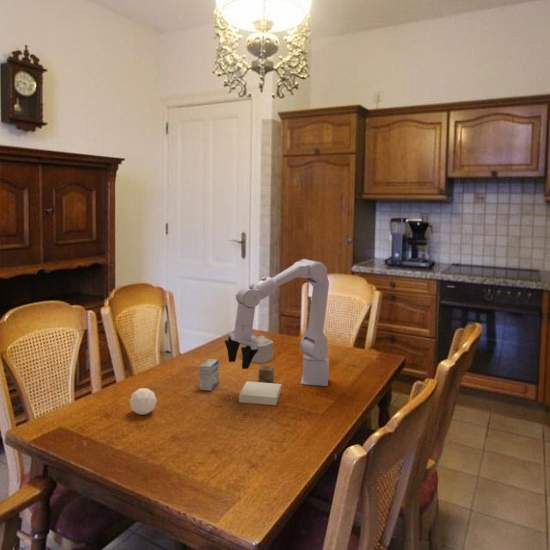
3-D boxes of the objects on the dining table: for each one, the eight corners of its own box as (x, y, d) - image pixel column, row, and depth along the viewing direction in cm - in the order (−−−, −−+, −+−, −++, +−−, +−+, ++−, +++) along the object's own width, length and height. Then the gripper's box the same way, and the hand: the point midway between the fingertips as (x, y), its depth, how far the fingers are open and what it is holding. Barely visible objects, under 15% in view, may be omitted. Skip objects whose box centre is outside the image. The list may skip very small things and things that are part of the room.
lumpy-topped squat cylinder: (261, 364, 195) (262, 343, 194) (235, 358, 202) (235, 337, 200) (275, 357, 204) (276, 337, 202) (250, 351, 210) (250, 332, 209)
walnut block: (273, 382, 176) (273, 366, 175) (271, 387, 171) (271, 370, 170) (260, 381, 176) (261, 365, 176) (258, 386, 172) (258, 369, 171)
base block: (281, 392, 168) (281, 384, 168) (275, 406, 156) (276, 397, 156) (246, 389, 170) (246, 381, 170) (238, 403, 158) (238, 394, 158)
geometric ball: (139, 424, 147) (123, 408, 143) (140, 405, 154) (125, 389, 150) (161, 413, 146) (145, 397, 142) (161, 394, 153) (147, 378, 149)
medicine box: (211, 391, 167) (211, 366, 165) (199, 390, 167) (199, 365, 166) (218, 383, 174) (218, 359, 173) (206, 381, 175) (206, 358, 174)
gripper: (221, 319, 164) (216, 359, 165) (247, 330, 153) (241, 372, 154) (238, 319, 168) (233, 358, 169) (265, 329, 157) (259, 371, 158)
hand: (238, 365), depth 162 cm, fingers open, 7 cm apart
